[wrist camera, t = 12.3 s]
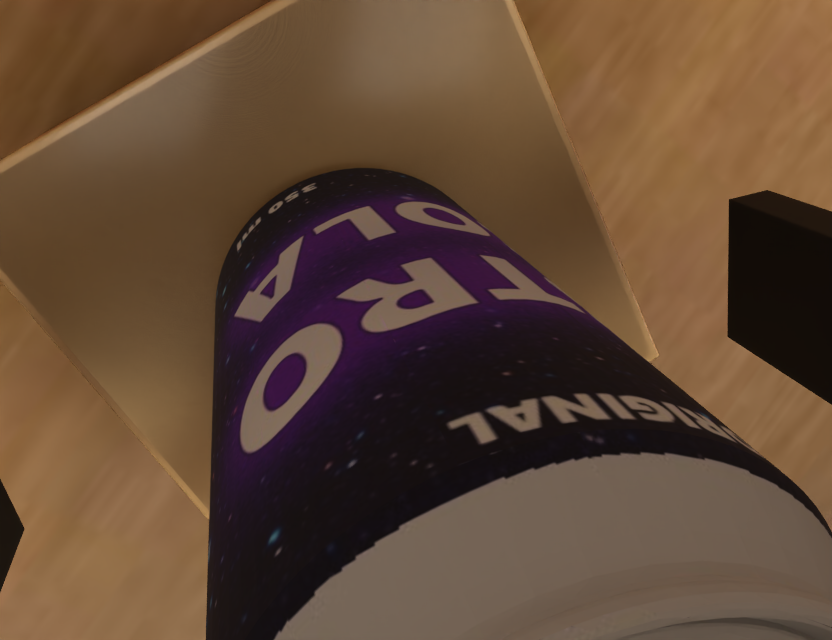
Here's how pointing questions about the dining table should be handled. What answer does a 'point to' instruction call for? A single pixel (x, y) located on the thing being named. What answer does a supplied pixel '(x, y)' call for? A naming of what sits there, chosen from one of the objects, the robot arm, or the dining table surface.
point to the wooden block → (283, 186)
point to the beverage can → (470, 449)
